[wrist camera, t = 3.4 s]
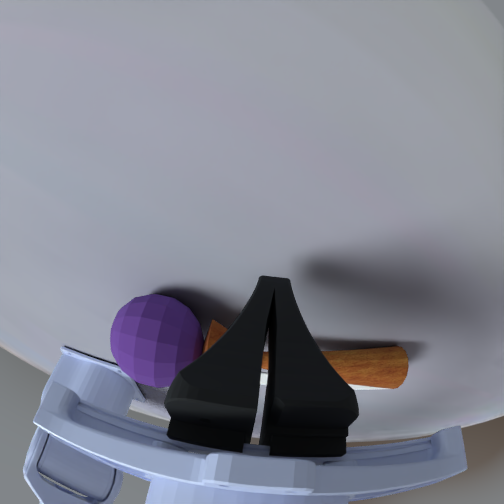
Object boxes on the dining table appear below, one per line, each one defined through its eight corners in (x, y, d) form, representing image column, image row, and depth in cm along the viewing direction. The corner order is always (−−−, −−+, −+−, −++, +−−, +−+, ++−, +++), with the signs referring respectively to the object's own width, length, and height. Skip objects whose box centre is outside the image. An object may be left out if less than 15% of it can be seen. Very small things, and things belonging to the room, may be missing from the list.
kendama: (377, 413, 18) (113, 384, 16) (371, 349, 22) (133, 314, 20) (425, 391, 14) (85, 353, 12) (410, 314, 18) (119, 266, 16)
